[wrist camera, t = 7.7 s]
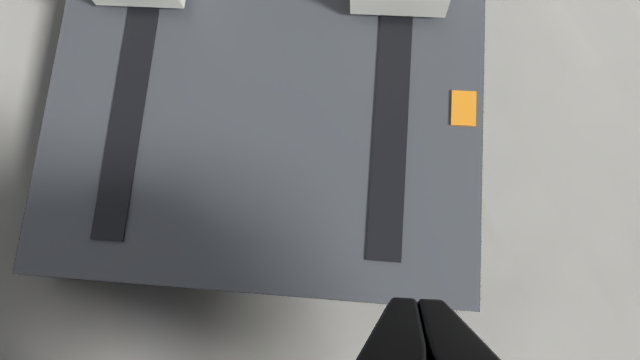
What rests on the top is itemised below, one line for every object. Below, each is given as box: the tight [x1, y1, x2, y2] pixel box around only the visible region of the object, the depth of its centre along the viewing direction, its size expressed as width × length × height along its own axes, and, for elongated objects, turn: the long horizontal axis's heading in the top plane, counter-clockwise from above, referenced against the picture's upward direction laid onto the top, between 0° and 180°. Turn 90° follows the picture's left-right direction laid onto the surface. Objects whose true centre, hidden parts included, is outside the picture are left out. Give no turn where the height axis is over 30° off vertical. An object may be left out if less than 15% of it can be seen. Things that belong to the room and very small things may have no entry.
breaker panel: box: [13, 0, 485, 312], centre depth 20 cm, size 13×15×3 cm
